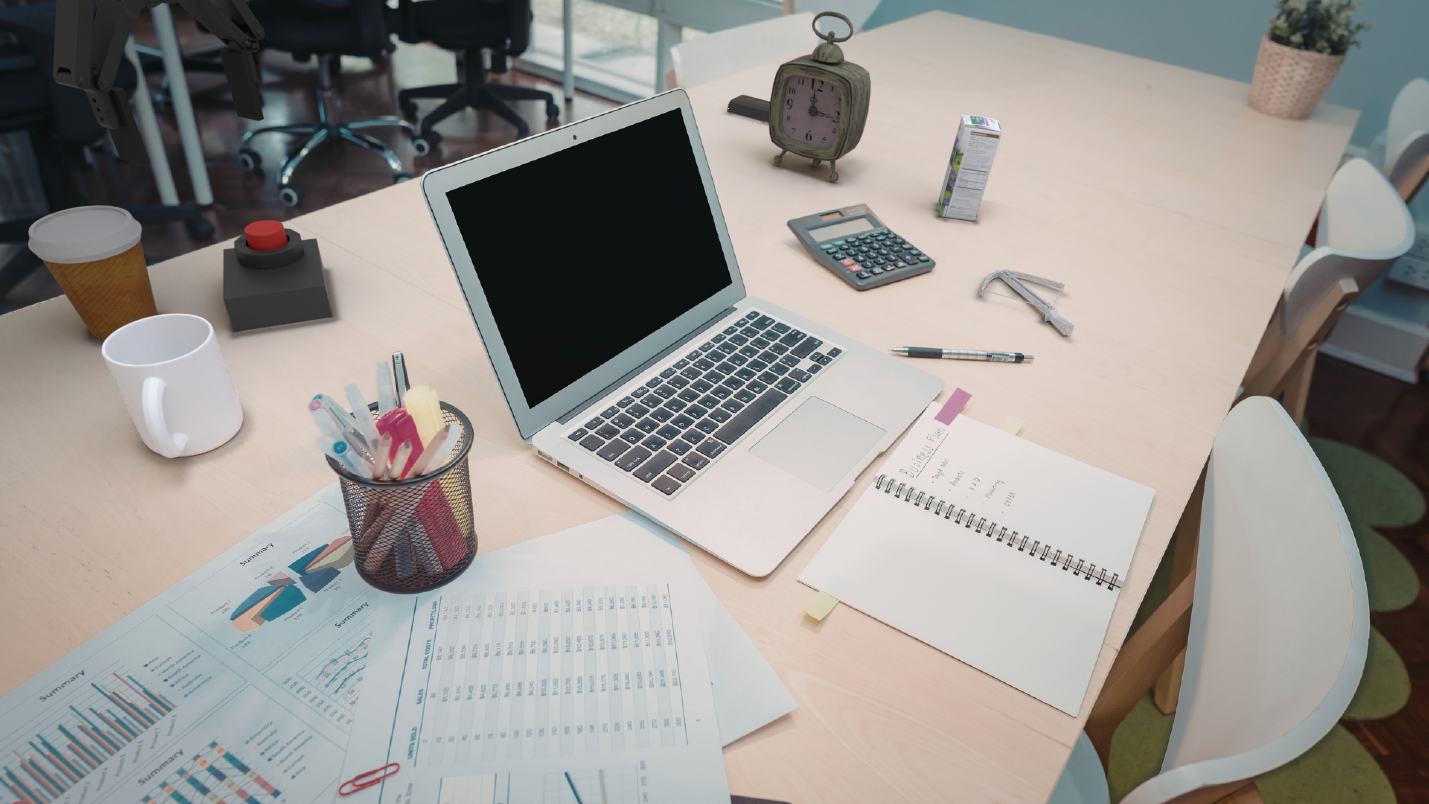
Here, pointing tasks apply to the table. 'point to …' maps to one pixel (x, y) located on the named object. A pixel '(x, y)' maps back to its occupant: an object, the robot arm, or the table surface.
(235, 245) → the red mushroom button box
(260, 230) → the button
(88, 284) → the disposable coffee cup
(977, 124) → the syrup box
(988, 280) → the crossbow
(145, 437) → the mug
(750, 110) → the usb drive
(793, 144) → the tabletop clock
